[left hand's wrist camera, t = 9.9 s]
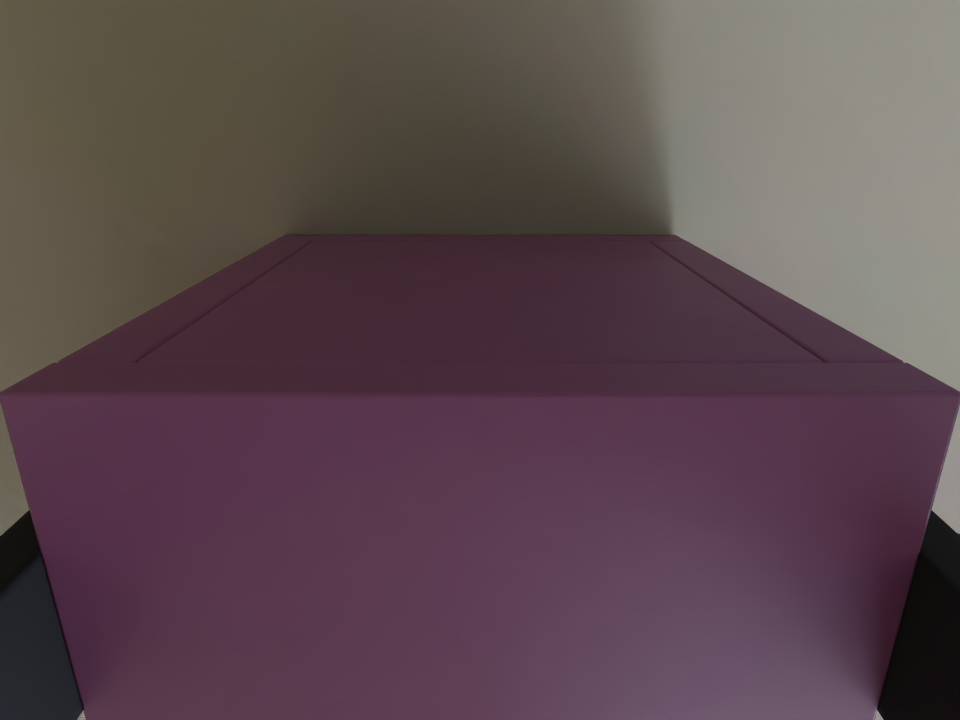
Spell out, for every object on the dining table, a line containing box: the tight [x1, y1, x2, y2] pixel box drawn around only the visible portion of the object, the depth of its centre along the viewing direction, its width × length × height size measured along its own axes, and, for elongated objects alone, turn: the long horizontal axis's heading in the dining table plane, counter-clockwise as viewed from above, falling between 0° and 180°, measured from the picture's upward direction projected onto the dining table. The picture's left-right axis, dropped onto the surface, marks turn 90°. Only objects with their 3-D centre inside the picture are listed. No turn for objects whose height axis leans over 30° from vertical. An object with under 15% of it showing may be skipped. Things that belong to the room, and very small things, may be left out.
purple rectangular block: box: [0, 235, 960, 720], centre depth 17 cm, size 21×12×12 cm, turn 0°
